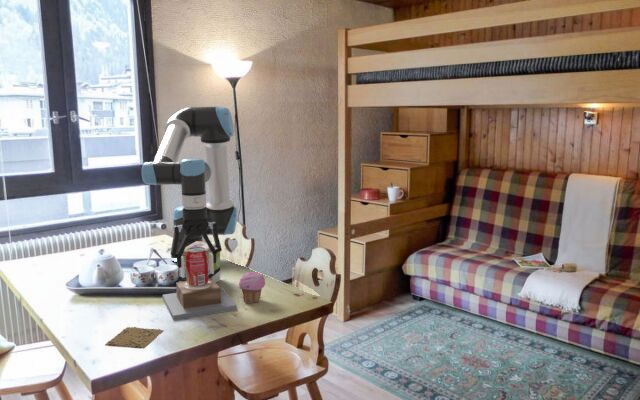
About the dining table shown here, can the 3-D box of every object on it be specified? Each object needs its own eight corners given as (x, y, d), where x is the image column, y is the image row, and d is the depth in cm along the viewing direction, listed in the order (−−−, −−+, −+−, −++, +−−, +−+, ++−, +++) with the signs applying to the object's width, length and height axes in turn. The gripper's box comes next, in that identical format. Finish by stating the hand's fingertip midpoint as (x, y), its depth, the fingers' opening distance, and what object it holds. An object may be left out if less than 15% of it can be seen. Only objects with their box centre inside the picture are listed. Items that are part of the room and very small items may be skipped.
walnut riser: (176, 296, 179) (175, 281, 179) (212, 291, 184) (211, 276, 184) (183, 309, 169) (182, 293, 168) (221, 303, 174) (220, 287, 173)
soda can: (197, 279, 180) (195, 245, 178) (213, 283, 177) (211, 248, 175) (182, 285, 174) (180, 250, 172) (198, 289, 171) (196, 253, 169)
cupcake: (242, 296, 184) (241, 268, 182) (267, 296, 184) (266, 268, 182) (237, 305, 175) (236, 276, 174) (263, 306, 175) (262, 277, 173)
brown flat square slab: (144, 350, 145) (144, 346, 145) (104, 346, 147) (103, 343, 147) (164, 331, 157) (164, 328, 156) (126, 328, 159) (126, 325, 158)
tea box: (205, 292, 188) (203, 252, 185) (178, 290, 190) (176, 250, 187) (221, 279, 202) (220, 241, 200) (196, 277, 204) (195, 240, 202)
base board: (162, 298, 182) (162, 294, 181) (220, 290, 190) (220, 286, 190) (173, 320, 164) (173, 315, 164) (236, 309, 172) (236, 305, 172)
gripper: (161, 212, 163) (165, 282, 167) (230, 206, 172) (232, 273, 176) (157, 207, 170) (161, 275, 174) (224, 202, 179) (226, 267, 183)
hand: (197, 274), depth 175 cm, fingers open, 9 cm apart
